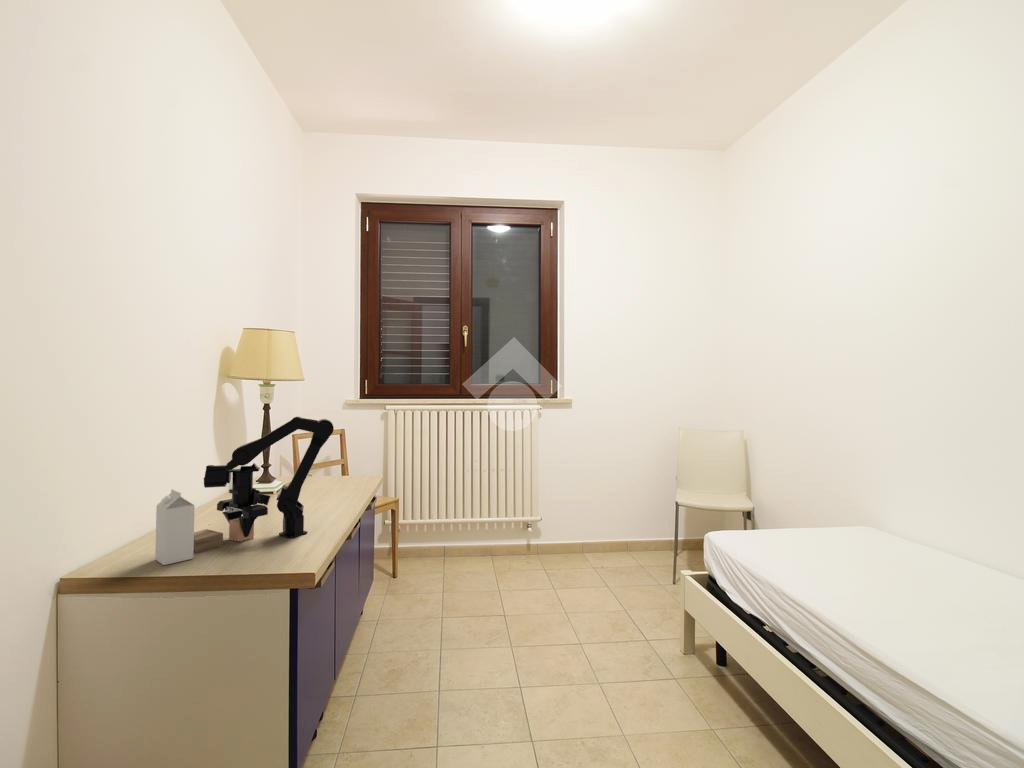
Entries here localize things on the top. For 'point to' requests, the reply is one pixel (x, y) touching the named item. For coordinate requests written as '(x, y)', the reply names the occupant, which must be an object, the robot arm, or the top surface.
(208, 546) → the walnut block
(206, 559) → the top surface
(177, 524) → the milk carton
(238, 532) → the terracotta cube
